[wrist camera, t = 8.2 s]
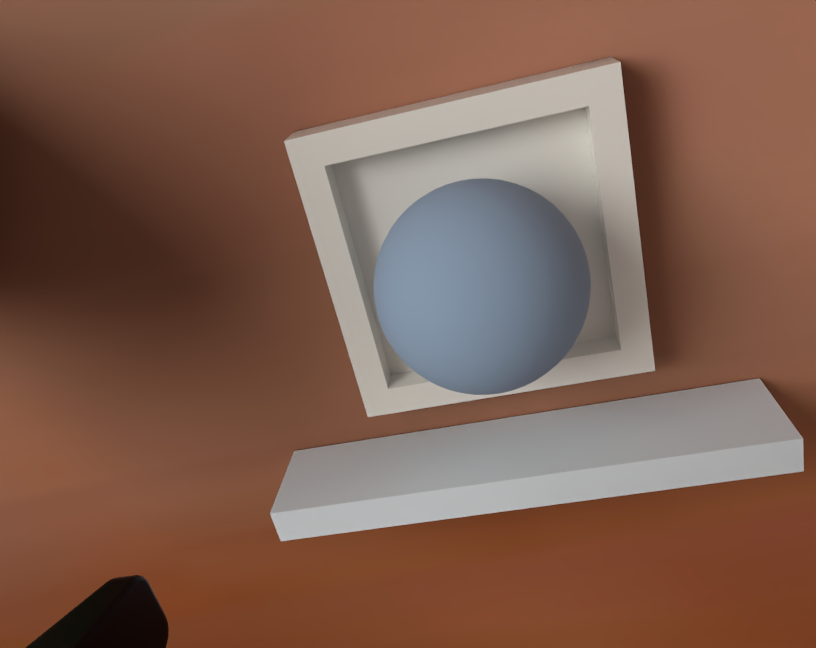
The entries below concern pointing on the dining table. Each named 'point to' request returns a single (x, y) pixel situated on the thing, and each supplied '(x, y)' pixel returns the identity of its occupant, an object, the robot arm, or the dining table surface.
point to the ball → (482, 286)
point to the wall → (539, 460)
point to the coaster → (473, 159)
